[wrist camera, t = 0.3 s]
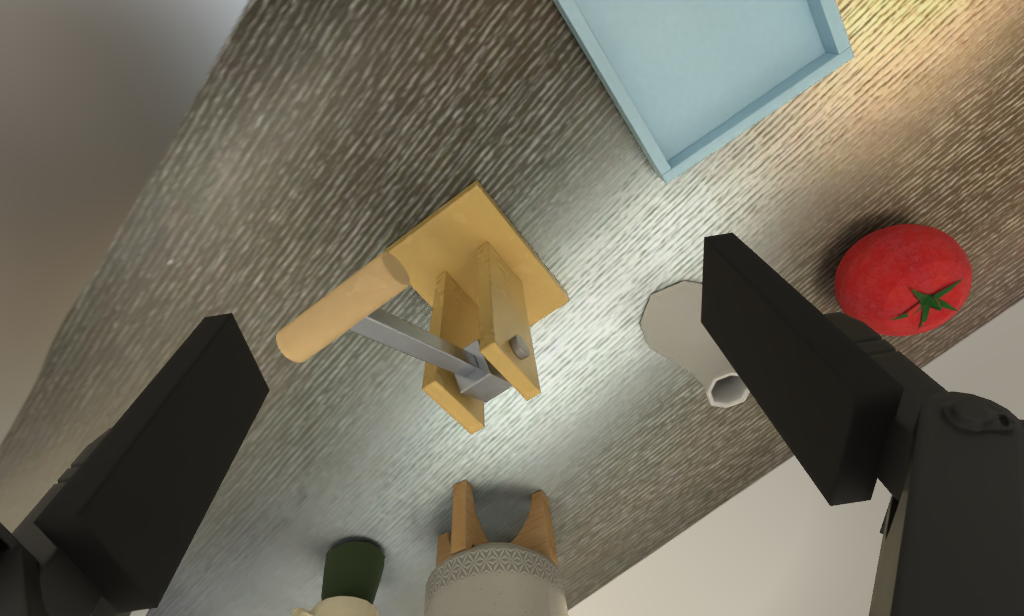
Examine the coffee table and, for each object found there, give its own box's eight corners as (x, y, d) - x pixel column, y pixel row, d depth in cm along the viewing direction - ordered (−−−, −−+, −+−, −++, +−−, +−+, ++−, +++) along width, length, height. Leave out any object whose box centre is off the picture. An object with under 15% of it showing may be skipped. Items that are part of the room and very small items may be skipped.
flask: (639, 284, 44) (680, 355, 35) (726, 273, 44) (789, 341, 35) (638, 355, 47) (675, 435, 39) (719, 345, 47) (773, 422, 39)
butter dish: (517, -60, 31) (520, -64, 29) (726, -244, 28) (745, -263, 26) (656, 175, 39) (666, 184, 37) (833, 53, 36) (855, 57, 34)
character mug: (295, 547, 57) (252, 680, 46) (337, 515, 55) (303, 647, 44) (374, 587, 62) (352, 717, 51) (415, 559, 60) (402, 688, 49)
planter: (473, 569, 61) (473, 759, 46) (407, 506, 55) (381, 701, 40) (572, 527, 59) (607, 713, 43) (514, 456, 53) (531, 644, 37)
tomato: (802, 308, 46) (861, 363, 39) (832, 211, 41) (904, 254, 34) (900, 304, 46) (975, 358, 39) (940, 207, 42) (1033, 249, 35)
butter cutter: (384, 249, 41) (344, 364, 28) (477, 179, 38) (479, 269, 26) (480, 349, 46) (484, 485, 33) (567, 293, 44) (606, 415, 31)
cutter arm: (272, 318, 23) (278, 364, 21) (375, 238, 21) (389, 283, 20) (449, 384, 33) (461, 418, 32) (526, 335, 32) (542, 368, 31)
